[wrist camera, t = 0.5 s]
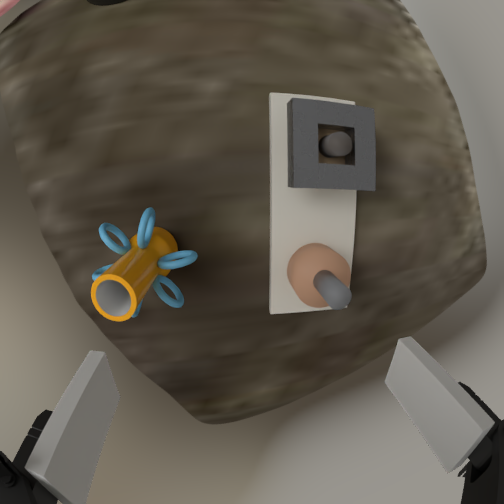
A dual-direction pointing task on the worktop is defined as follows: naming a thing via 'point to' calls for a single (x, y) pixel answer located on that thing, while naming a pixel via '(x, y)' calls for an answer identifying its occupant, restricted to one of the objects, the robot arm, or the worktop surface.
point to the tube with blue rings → (137, 269)
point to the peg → (320, 276)
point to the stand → (333, 146)
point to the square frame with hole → (306, 145)
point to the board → (301, 213)
